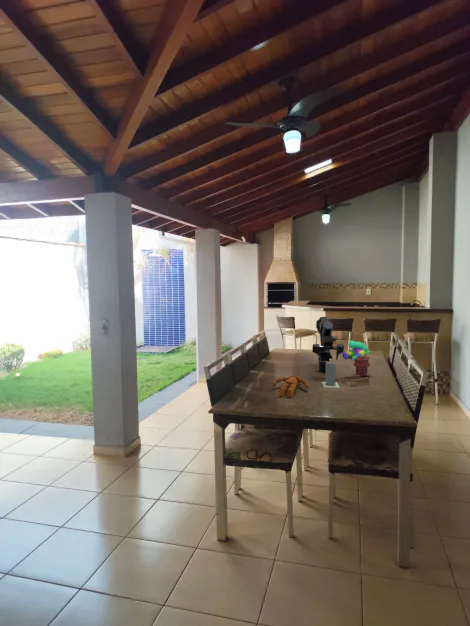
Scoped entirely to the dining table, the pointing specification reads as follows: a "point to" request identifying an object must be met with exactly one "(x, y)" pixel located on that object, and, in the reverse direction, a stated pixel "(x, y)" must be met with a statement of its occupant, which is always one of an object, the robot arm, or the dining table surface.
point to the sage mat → (330, 386)
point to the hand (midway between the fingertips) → (329, 359)
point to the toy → (289, 385)
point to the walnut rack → (355, 380)
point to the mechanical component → (361, 365)
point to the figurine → (356, 350)
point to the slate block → (330, 373)
